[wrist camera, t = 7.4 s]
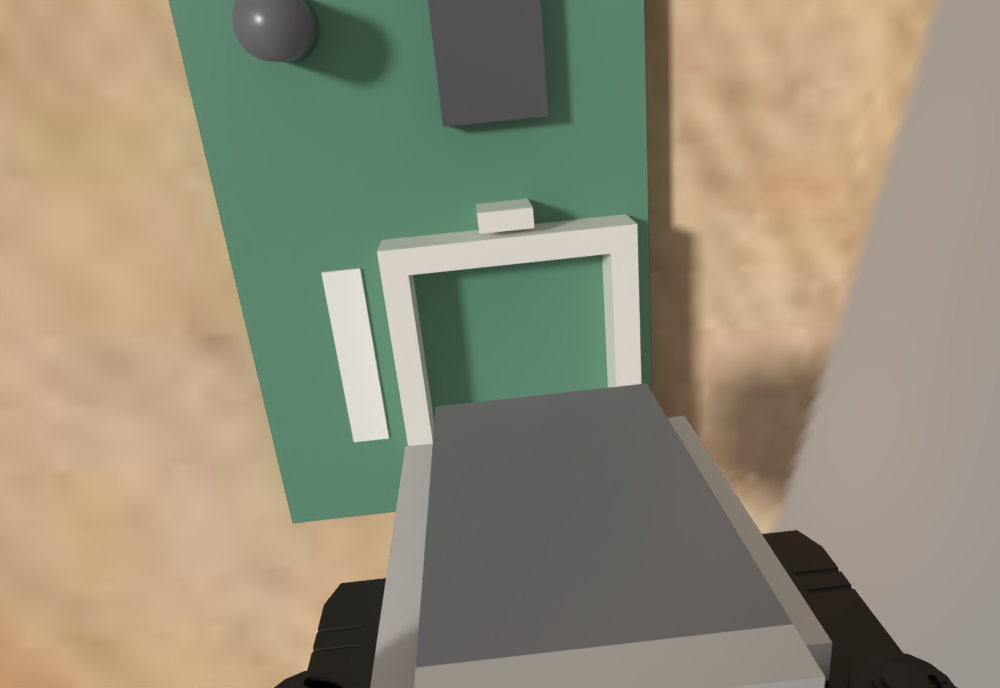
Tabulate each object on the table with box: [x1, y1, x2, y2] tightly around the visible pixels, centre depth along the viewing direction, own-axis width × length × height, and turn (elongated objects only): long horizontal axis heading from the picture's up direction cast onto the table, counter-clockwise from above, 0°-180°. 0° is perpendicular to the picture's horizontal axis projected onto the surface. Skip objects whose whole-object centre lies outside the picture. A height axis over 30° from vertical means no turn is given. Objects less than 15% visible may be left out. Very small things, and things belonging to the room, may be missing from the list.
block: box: [414, 383, 825, 688], centre depth 12 cm, size 5×4×8 cm
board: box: [169, 0, 652, 523], centre depth 22 cm, size 20×13×3 cm, turn 5°
